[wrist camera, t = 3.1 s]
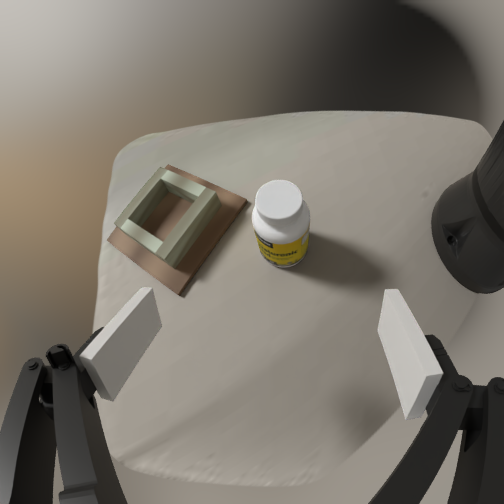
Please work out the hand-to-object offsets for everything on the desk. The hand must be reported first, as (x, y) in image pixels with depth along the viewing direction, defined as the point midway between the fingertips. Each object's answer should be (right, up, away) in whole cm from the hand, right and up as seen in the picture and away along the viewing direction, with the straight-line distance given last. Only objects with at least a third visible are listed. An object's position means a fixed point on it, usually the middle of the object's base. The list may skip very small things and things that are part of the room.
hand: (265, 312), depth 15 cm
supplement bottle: (+3, +4, +17) cm, 18 cm away
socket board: (-11, +7, +21) cm, 24 cm away
